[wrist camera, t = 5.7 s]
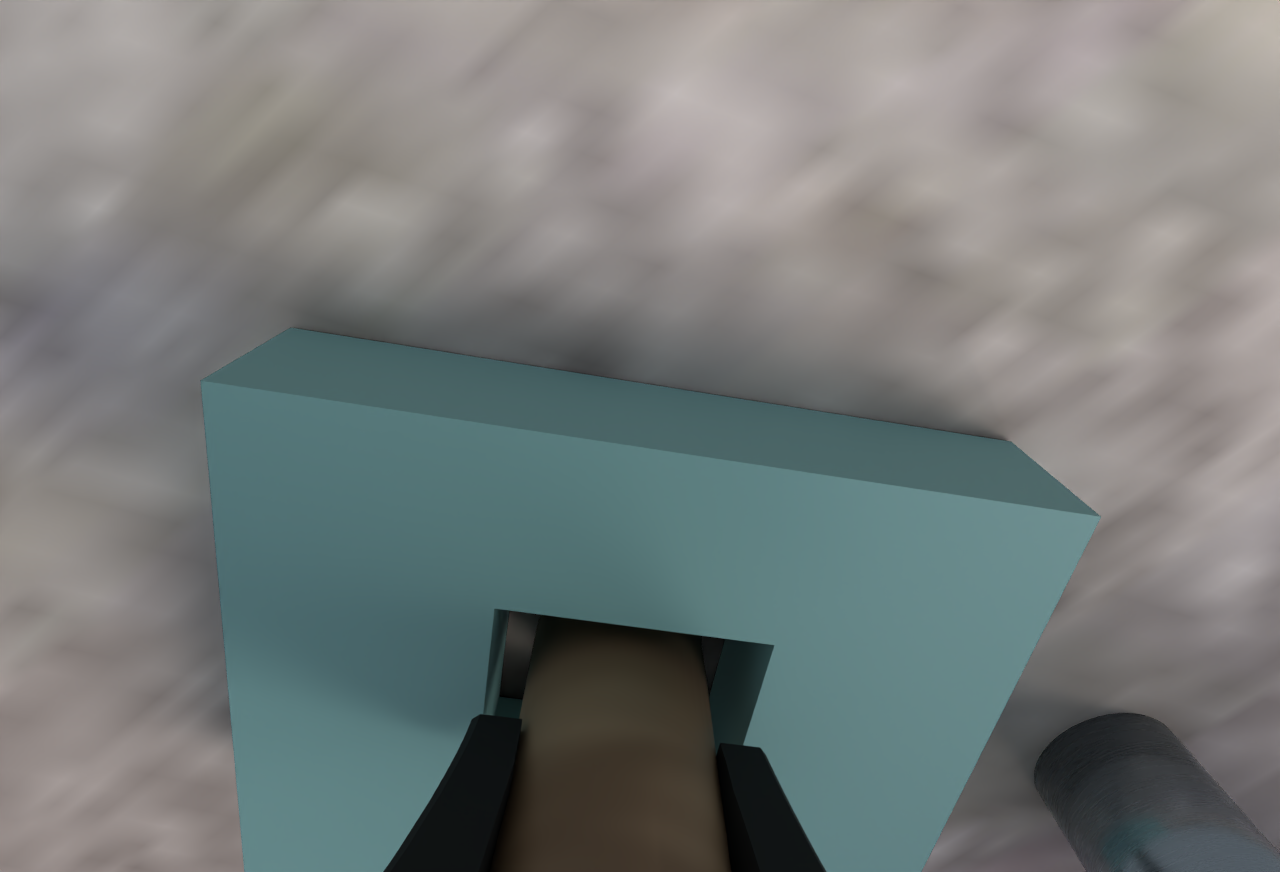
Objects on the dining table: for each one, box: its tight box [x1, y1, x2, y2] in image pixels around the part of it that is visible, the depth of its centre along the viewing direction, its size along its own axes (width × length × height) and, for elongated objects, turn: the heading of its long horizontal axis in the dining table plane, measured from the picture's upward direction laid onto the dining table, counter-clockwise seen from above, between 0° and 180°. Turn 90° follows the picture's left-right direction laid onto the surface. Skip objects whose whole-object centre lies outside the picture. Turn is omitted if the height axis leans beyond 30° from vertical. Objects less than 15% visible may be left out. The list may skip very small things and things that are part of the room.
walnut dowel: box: [490, 615, 731, 872], centre depth 9 cm, size 3×3×7 cm
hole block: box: [201, 328, 1101, 872], centre depth 12 cm, size 12×10×2 cm
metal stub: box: [1034, 713, 1280, 872], centre depth 13 cm, size 3×3×4 cm
